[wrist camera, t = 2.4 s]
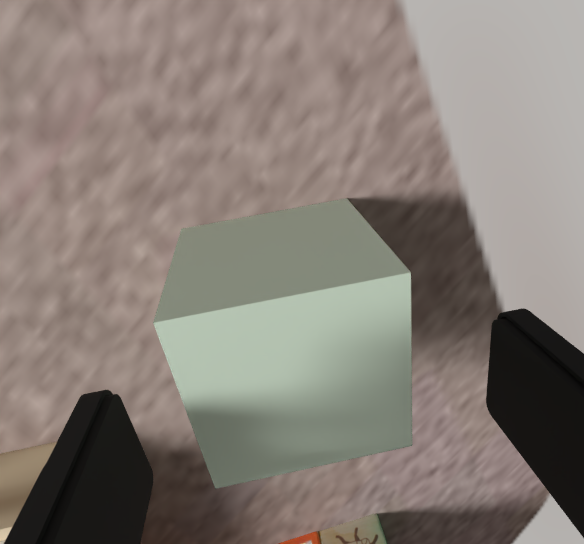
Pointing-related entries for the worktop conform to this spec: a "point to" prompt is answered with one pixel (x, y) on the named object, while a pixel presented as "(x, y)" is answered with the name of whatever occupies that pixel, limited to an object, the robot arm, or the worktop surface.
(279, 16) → the worktop surface
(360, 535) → the stack of blocks
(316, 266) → the sage cube
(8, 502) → the tower base
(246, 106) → the worktop surface
